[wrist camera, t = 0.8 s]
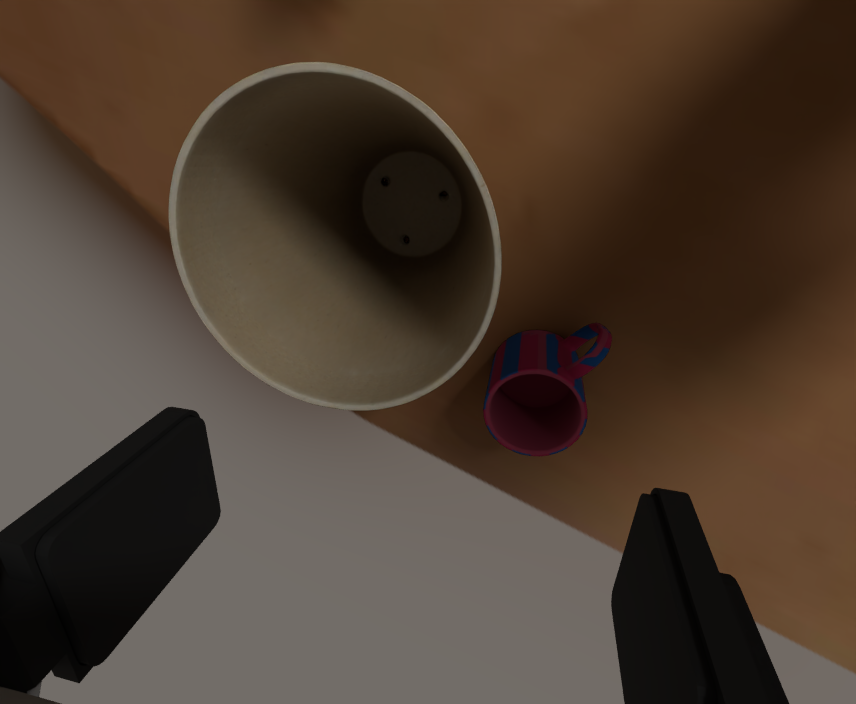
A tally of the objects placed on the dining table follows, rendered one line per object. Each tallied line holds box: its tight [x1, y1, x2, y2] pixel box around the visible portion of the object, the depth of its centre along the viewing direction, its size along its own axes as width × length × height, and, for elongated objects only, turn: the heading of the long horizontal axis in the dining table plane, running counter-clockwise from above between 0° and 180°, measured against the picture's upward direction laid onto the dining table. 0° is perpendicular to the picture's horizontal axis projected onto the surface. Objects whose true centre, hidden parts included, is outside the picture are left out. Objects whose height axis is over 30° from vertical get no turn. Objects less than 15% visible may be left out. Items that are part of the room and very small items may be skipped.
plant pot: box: [169, 62, 502, 410], centre depth 28 cm, size 15×15×16 cm
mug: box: [483, 323, 612, 456], centre depth 35 cm, size 7×10×7 cm
